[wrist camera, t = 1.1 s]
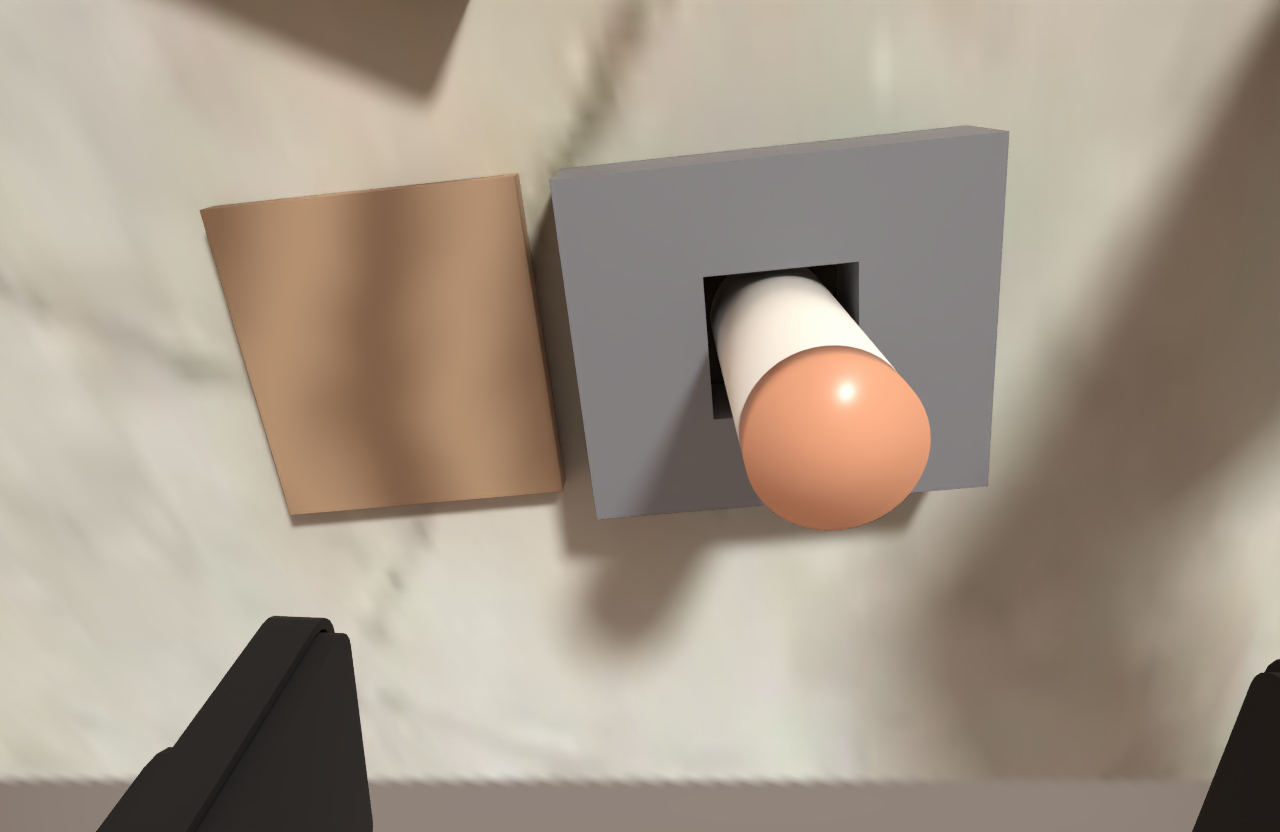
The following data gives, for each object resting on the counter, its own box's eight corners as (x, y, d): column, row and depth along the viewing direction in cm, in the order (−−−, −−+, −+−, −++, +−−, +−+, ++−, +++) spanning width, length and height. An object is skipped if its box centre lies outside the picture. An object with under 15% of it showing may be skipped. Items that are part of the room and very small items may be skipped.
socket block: (967, 125, 28) (1009, 131, 25) (954, 445, 33) (987, 486, 29) (560, 168, 29) (549, 179, 26) (602, 476, 33) (596, 519, 30)
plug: (827, 250, 30) (933, 352, 19) (829, 366, 31) (928, 522, 20) (706, 263, 30) (738, 370, 19) (714, 376, 32) (749, 537, 20)
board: (518, 173, 29) (514, 176, 28) (565, 480, 33) (562, 491, 32) (213, 206, 29) (199, 210, 28) (300, 503, 34) (290, 515, 33)
